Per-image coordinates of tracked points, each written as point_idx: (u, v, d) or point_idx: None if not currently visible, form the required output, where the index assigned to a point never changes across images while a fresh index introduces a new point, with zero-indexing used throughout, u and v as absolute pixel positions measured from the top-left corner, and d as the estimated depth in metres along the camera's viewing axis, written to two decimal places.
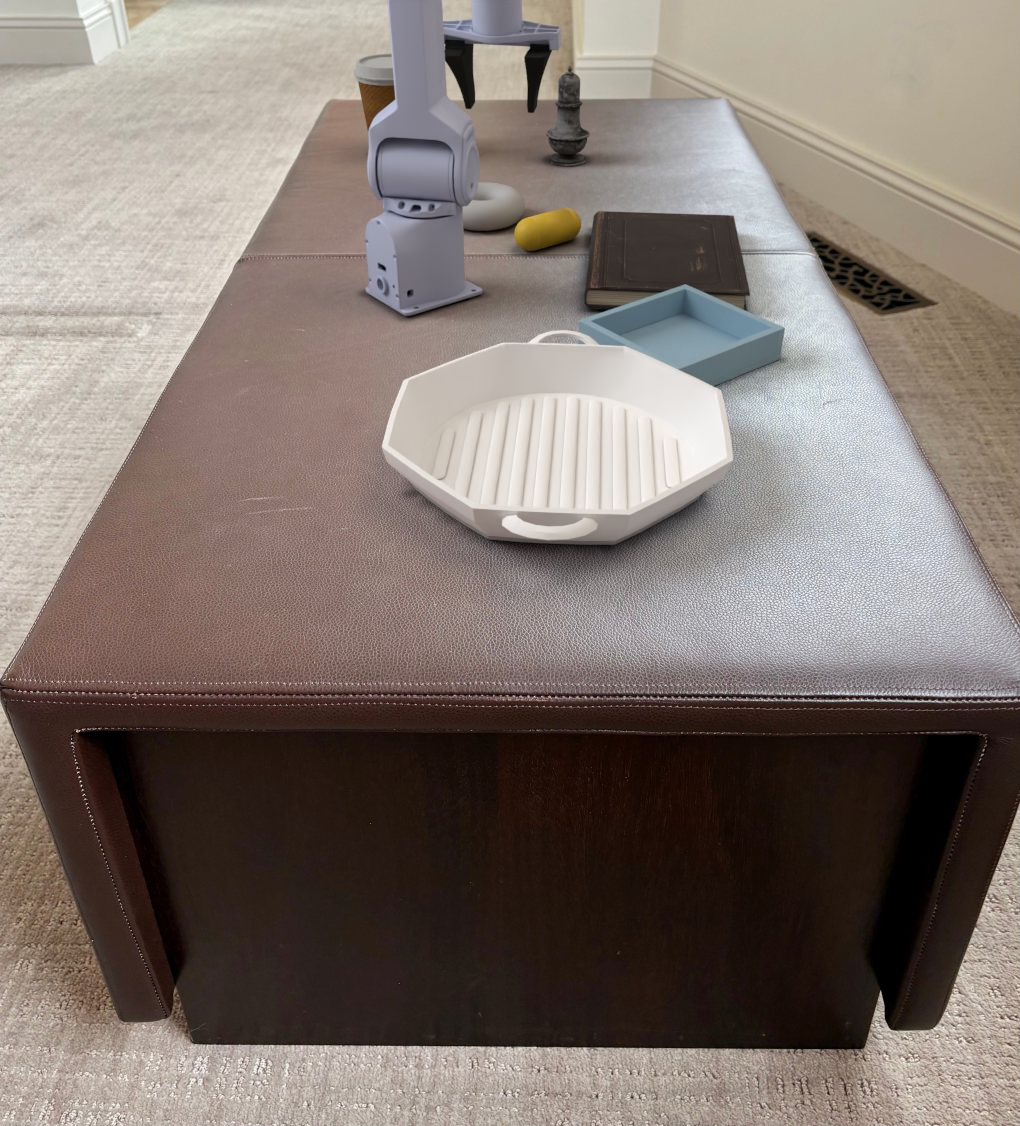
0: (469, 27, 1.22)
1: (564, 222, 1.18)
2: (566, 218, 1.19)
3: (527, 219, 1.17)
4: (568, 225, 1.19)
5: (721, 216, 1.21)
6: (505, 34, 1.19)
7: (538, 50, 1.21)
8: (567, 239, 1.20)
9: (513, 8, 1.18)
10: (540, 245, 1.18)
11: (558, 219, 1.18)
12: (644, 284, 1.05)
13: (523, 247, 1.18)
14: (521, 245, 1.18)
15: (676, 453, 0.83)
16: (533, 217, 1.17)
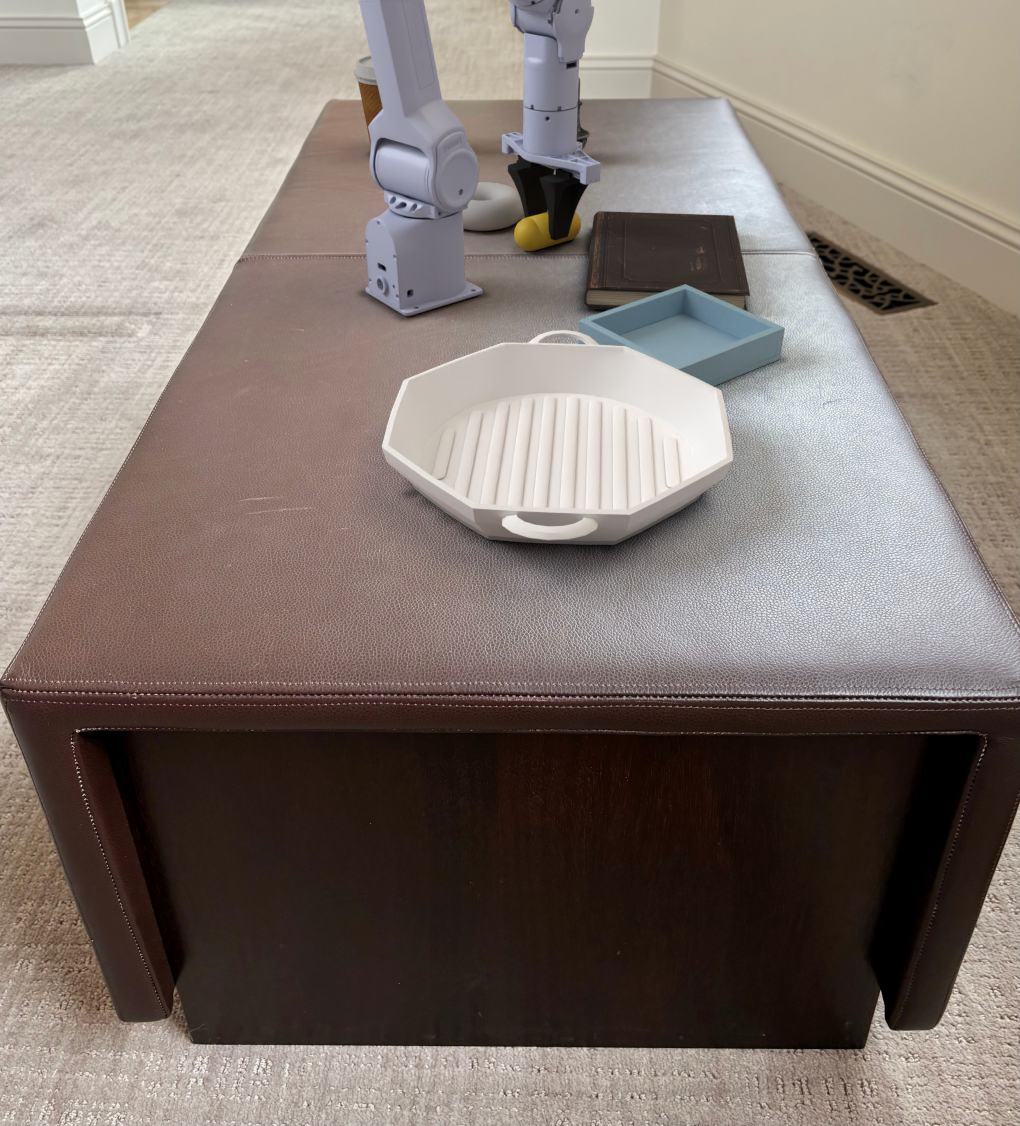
0: None
1: None
2: None
3: (527, 219, 1.17)
4: None
5: (721, 216, 1.21)
6: (540, 154, 1.12)
7: (561, 176, 1.13)
8: (567, 239, 1.20)
9: (551, 130, 1.10)
10: (540, 245, 1.18)
11: None
12: (644, 284, 1.05)
13: (523, 247, 1.18)
14: (521, 245, 1.18)
15: (676, 453, 0.83)
16: (533, 217, 1.17)
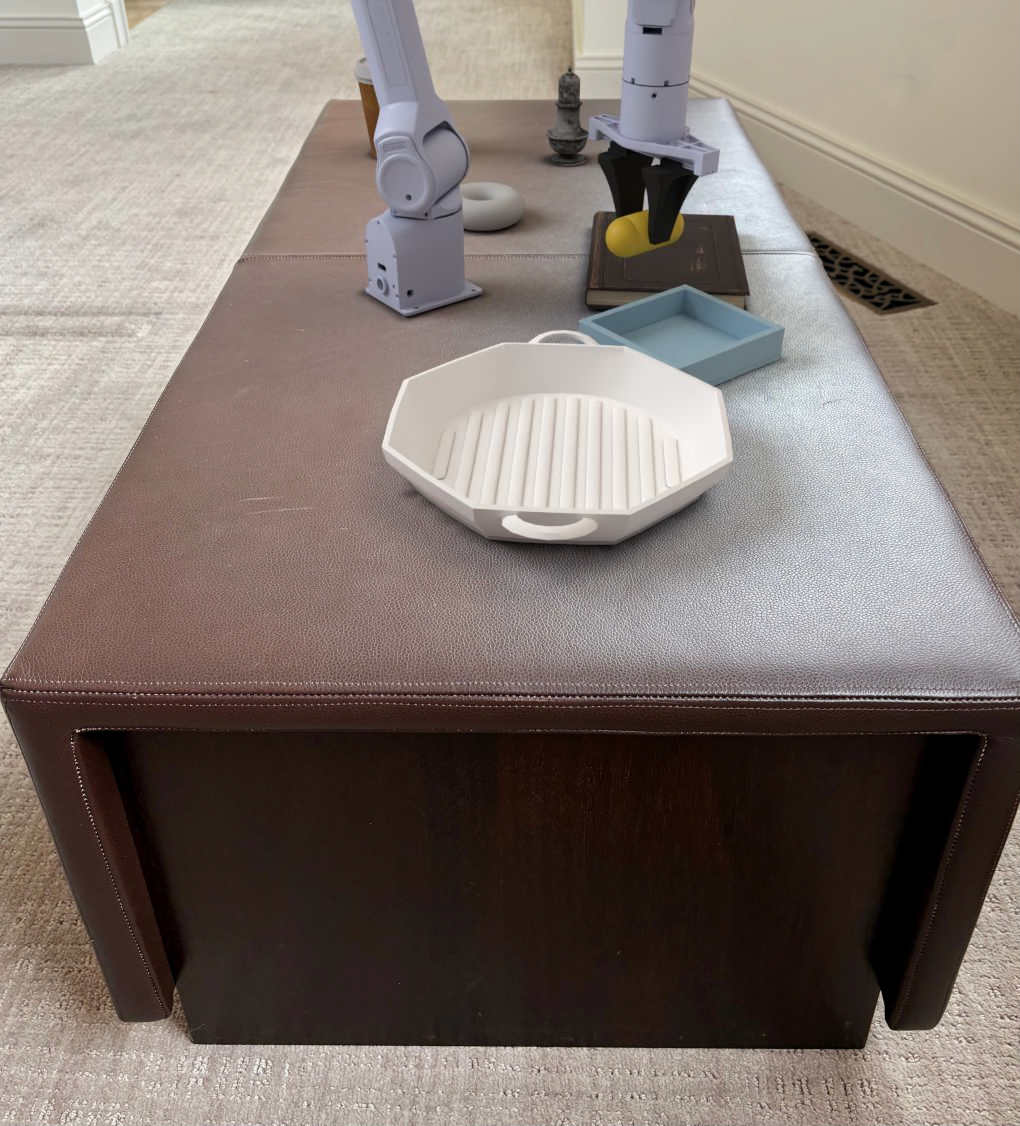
0: None
1: None
2: None
3: (622, 219, 0.97)
4: None
5: (721, 216, 1.21)
6: (643, 140, 0.91)
7: (667, 166, 0.92)
8: (667, 243, 1.00)
9: (659, 110, 0.90)
10: (638, 250, 0.97)
11: None
12: (644, 284, 1.05)
13: (617, 253, 0.97)
14: (614, 250, 0.97)
15: (676, 453, 0.83)
16: (629, 216, 0.97)
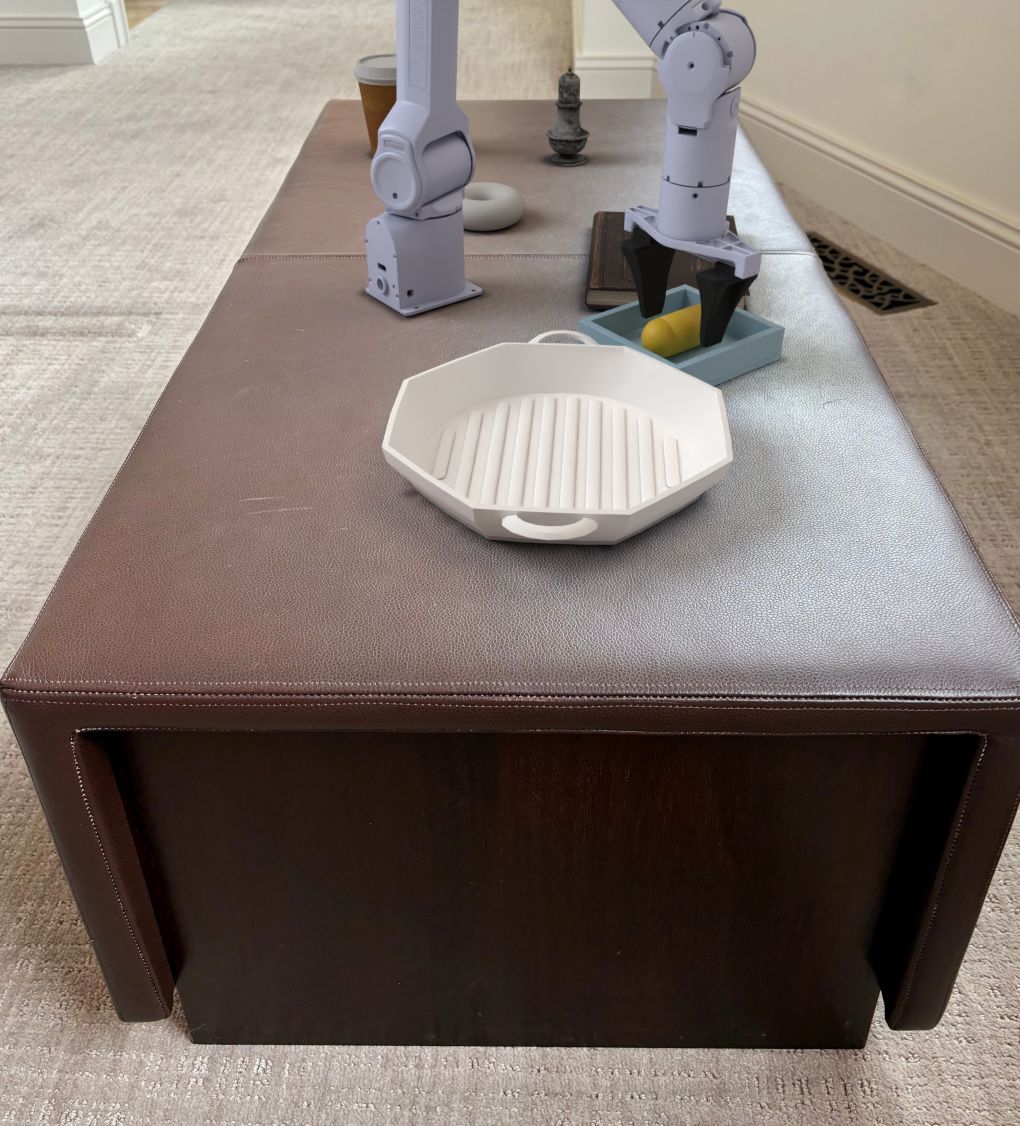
0: None
1: None
2: None
3: (659, 321, 0.94)
4: None
5: None
6: (683, 239, 0.89)
7: (722, 272, 0.89)
8: None
9: (699, 210, 0.87)
10: (674, 352, 0.95)
11: (696, 319, 0.95)
12: None
13: None
14: None
15: (676, 453, 0.83)
16: (666, 318, 0.95)
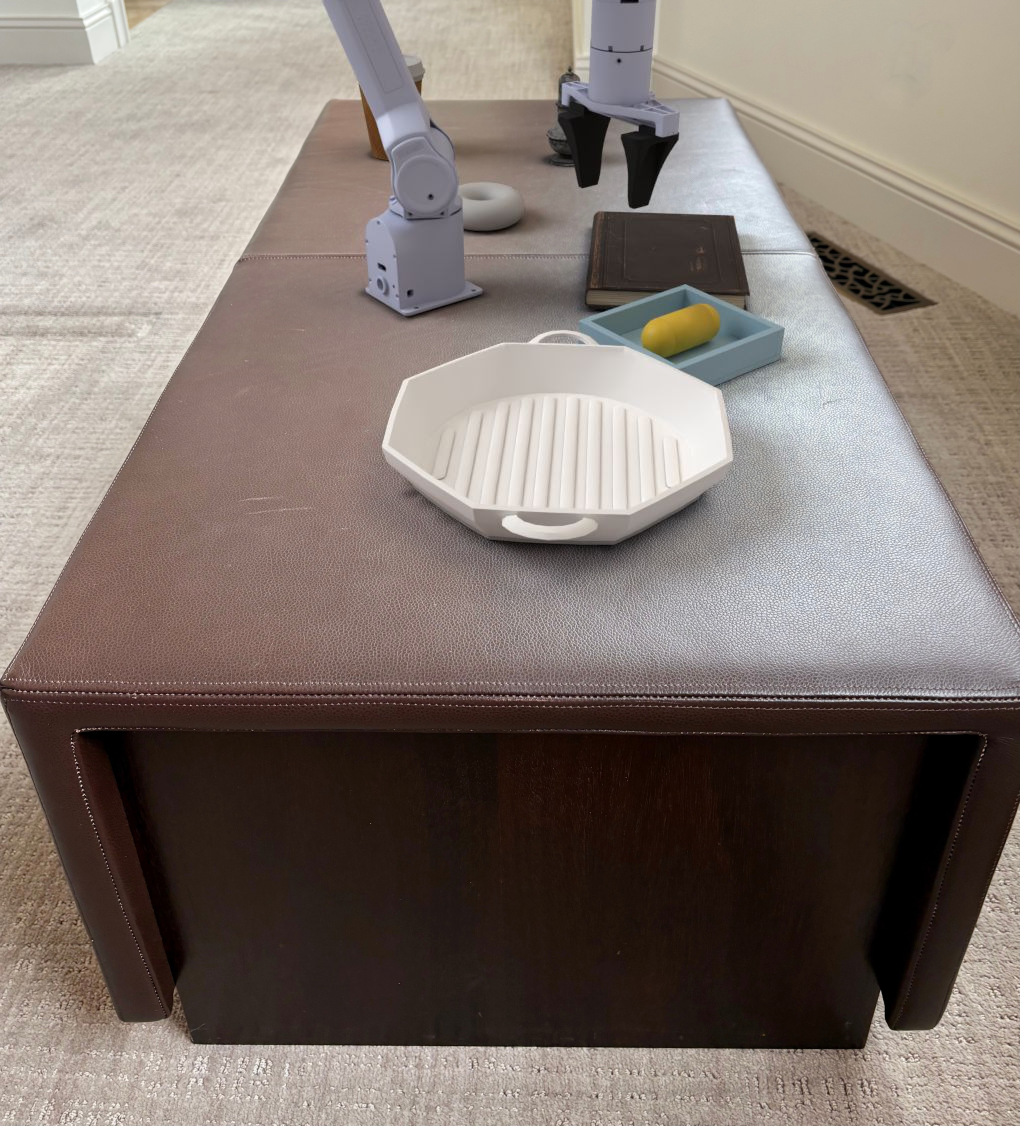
0: None
1: (702, 322, 0.96)
2: (705, 318, 0.96)
3: (659, 321, 0.94)
4: (707, 326, 0.96)
5: (721, 216, 1.21)
6: (609, 103, 0.98)
7: (645, 133, 0.97)
8: (704, 342, 0.98)
9: (623, 74, 0.96)
10: (674, 352, 0.95)
11: (696, 319, 0.96)
12: (644, 284, 1.05)
13: None
14: None
15: (676, 453, 0.83)
16: (666, 318, 0.95)
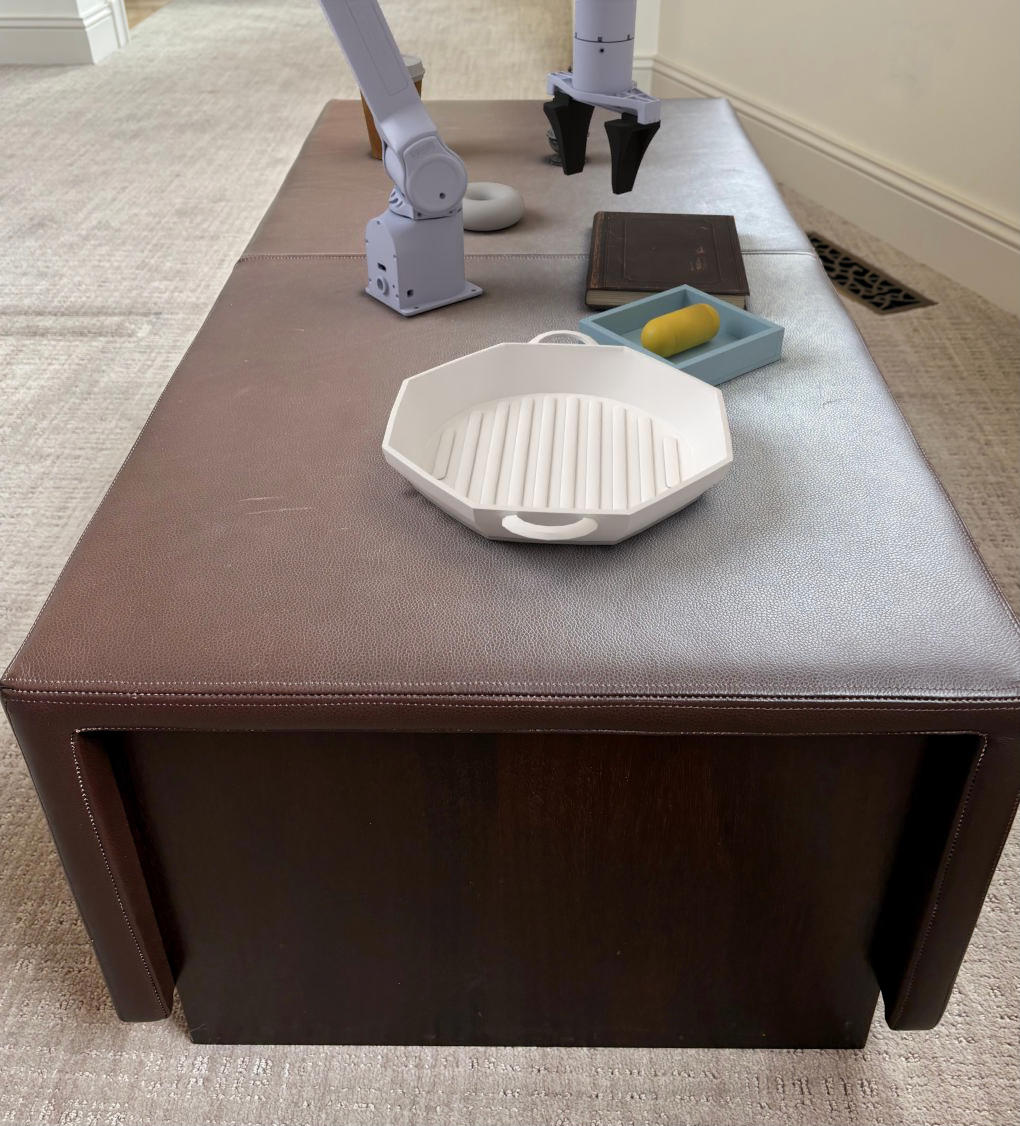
0: None
1: (701, 322, 0.96)
2: (704, 317, 0.96)
3: (658, 320, 0.94)
4: (706, 325, 0.96)
5: (721, 216, 1.21)
6: (593, 92, 1.01)
7: (627, 120, 1.01)
8: (704, 342, 0.97)
9: (606, 64, 0.99)
10: (674, 351, 0.95)
11: (695, 319, 0.96)
12: (644, 284, 1.05)
13: None
14: None
15: (676, 453, 0.83)
16: (665, 317, 0.95)
